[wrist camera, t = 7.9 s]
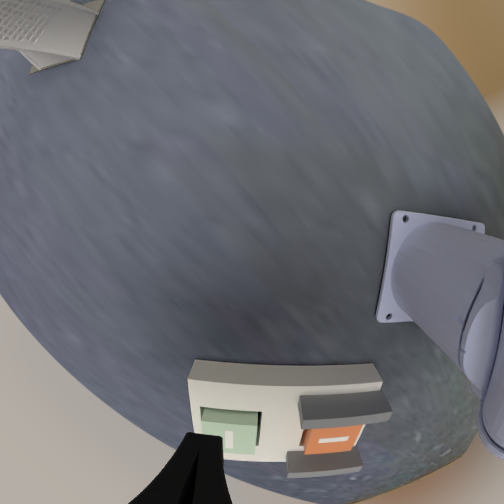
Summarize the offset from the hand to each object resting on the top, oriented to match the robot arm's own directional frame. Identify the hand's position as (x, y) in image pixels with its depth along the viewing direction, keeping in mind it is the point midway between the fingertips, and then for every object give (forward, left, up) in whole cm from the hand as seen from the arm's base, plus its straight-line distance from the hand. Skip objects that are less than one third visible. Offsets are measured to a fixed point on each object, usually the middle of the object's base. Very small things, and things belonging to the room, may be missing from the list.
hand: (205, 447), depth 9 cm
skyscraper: (+16, -24, -11) cm, 31 cm away
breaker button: (-8, +8, -10) cm, 15 cm away
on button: (0, +8, -10) cm, 13 cm away
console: (-4, +8, -10) cm, 14 cm away
